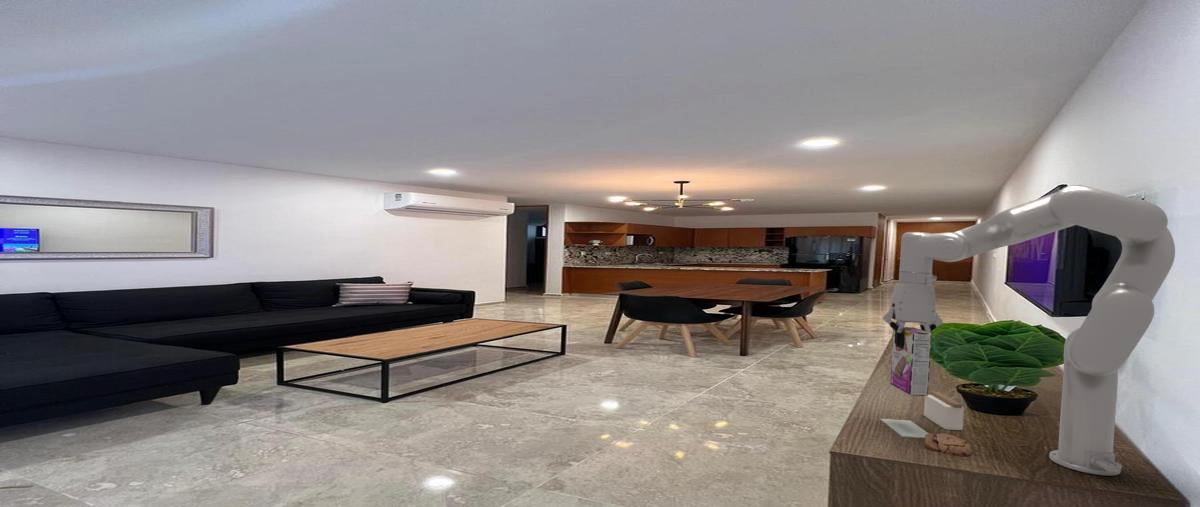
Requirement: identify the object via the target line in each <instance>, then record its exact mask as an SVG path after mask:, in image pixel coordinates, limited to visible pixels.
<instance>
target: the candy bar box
mask: <svg viewBox="0 0 1200 507" xmlns="http://www.w3.org/2000/svg"><path fill="white" fill-rule="evenodd" d="M892 330H893V329H892ZM902 333H904V346H903V348H899V347H896V344H895V342H894V341H895V331H894V330H893V331H892V347H891V363H890V364H891V366H890V367H891V369H890V385H891V386H893V387H895V388H897V389H899V390H900V391H902V392H904V393H906V394H907V395H909V396H915V397H916V396H918V397H925V396H928V395H929V386H930V384H929V383H930V371H931V370H930V369H931V367H930V365H931V350H932V332H931V333H929V332H926V331H923V330H921V328H920V329H919V328H918V327H914V326H911V325H904V328H903V330H902Z"/></svg>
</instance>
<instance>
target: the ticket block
mask: <svg viewBox="0 0 1200 507" xmlns="http://www.w3.org/2000/svg"><path fill="white" fill-rule="evenodd" d="M923 404H924V406H923V414H921V417H923V418H925V419H926V420H930V421H929V422H930V423H933V424H934V425H936V426H938V428H940V429H944V430H949V431H950V430H952V431H954V430H955V431H963V429H964V415H965V414H964V411H965V408H964V407H963V404H962V403H960V402H958V401H957V400H954V399H952V398H951V397H949V396H947V395H945V394H944V393H941V392H940V391H936V390H935V391H933V390H931V391H930V394H928V396H924V403H923Z"/></svg>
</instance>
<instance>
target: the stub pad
mask: <svg viewBox="0 0 1200 507" xmlns="http://www.w3.org/2000/svg"><path fill="white" fill-rule="evenodd" d="M879 420H880V421H881V422H883V424H885V425H887V427H889V428H890V429H891V430H893V431H894V432H895V433H897V434H898V435H899V436H900V437H902V438H912V439H913V438H915V439H925V435H926V434H928V433H929V432H927V431H926V430H925V429H923V428H922V427H920V426H919V425H917V424H916V423H915V422H913V420H908V419H906V420H905V419H891V418H880V419H879Z"/></svg>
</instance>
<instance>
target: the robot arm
mask: <svg viewBox="0 0 1200 507" xmlns="http://www.w3.org/2000/svg"><path fill="white" fill-rule="evenodd" d="M1168 222H1169V221H1168V216H1167V214H1166V212H1165V211H1164V210H1163V209H1162V207H1160V206H1158V205H1157V204H1155V203H1152V202H1150V201H1146V200H1143V199H1138V198H1135V197H1129V196H1125V195H1121V194H1117V193H1113V192H1109V191H1105V190H1101V189H1098V188H1095V187H1091V186H1087V185H1083V184H1082V185H1081V184H1073V185H1068V186H1064V187H1063V188H1061V189H1059V190H1058V191H1056V192H1053V193H1051V194H1047V195H1045V196H1042V197H1040V198H1037V199H1033V200H1031V201H1028V202H1025V203H1022V204H1019V205H1016V206H1013V207H1010V208H1008V209H1004V210H1003V211H1000V212H999V213H997V214H995V215H994V216H992V217H990V218H988V219H986V220H984V221H982V222H979V223H977V224H973V225H971V226H967V227H965V228H963V229H960V230H956V231H950V232H949V231H948V232H938V233H936V232H935V233H930V232H921V231H907V232H905V233H903V234H902V236H901V240H900V242H901V243H900V257H899V259H900V260H899V270H898V271H899V273H898V282H896V283H894V286H893V290H892V294H891V298H890V299H891V300H890V304H889V306H890V307H889V310H888V311H887V312H886V313H885V314H884V315H883V316H882V320H883V321H884V322H885V323H886V324H887V325H888V326H889V327H890V328H891V329H892V330H894V331H895V341H894V342H895V344H896V347H899V348H903V346H904V333H902V330H903V328H904V326H906V323H913V324H914V323H916V324H917V323H918V324H919V328H920V330H923V331H926V332H929V333H932V332H933V331H934V330H935V329H936V328H937V327H939V326H940V325H942V324H943V322H944V321H943V319H942V318H941V317H940V316H939V314H938V313H937V302H936V292H935V287H934V285H932V283H933V282H937V280H938V276H937V275H934V274H933V261H934V260H936V261H940V262H944V263H945V262H946V263H953V262H960V261H962V260H965V259H969V258H972V257H975V256H978V255H980V254H983V253H987V252H990V251H993V250H997V249H1000V248H1003V247H1008V246H1014V245H1017V244H1020V243H1025V242H1027V241H1029V240H1033V239H1036V238H1040V237H1042V236H1045V235H1048V234H1051V233H1054V232H1059V231H1061V230H1064V229H1067V228H1071V227H1074V226H1079V227H1083V228H1086V229H1088V230H1092V231H1096V232H1099V233H1102V234H1106V235H1108V236H1109V235H1110V236H1113V237H1116V238H1117V239H1118V240H1119V241H1120V243H1121V246H1122V247H1121V254H1120V256H1119V258H1118V260H1117V262H1116V264H1115V265H1114V268H1113V269H1112V271H1111V273H1110V274H1109V275H1108V277H1107V279H1106V281H1105V282H1104V283H1103V285H1102V287H1101V288H1100V289H1099V291H1098V292H1097V293H1095V295H1094V297H1093V298H1092V302H1091V309H1090V311H1089V312H1088V314H1087V316H1086V317H1085V319H1084V321H1083V322H1082V323H1081V325H1080V327H1078V328H1076V329H1075V330H1072V331H1071V332H1070V334H1068V336H1067V337H1066V339H1065V341H1064V346H1063V372H1062V374H1063V375H1062V389H1061V390H1062V392H1061V402H1060V417H1059V418H1060V419H1059V433H1058V434H1059V435H1058V445H1057V446H1058V447H1057V448H1058V449H1056V450H1051V451H1049V456H1048V457H1049V459H1050V460H1051V461H1052V462H1054V463H1055V464H1058V465H1059V466H1061V467H1065V468H1067V469H1070V470H1074V471H1077V472H1082V473H1085V474H1091V475H1096V476H1097V475H1099V476H1110V477H1111V476H1112V477H1113V476H1118V475H1120V474H1121V472H1122V468H1123V465H1122V464H1121V463H1119V462H1116V461H1115V460H1116V453H1114V440H1115V439H1114V437H1115V428H1116V426H1115V425H1116V411H1117V400H1118V381H1119V379H1118V378H1119V376H1118V375H1119V370H1120V369H1121V368H1122V367H1123V366H1124V364H1125V363H1126V361H1128V359H1129V357H1130V356H1131V355H1132V353H1133V351H1134V350H1135V348H1136V347H1137V345H1138V344H1139V343H1140V341H1141V339H1142V338H1143V337H1144V335H1145V333H1146V332H1147V330H1148V329H1149V327H1150V326H1151V324H1152V322H1153V319H1154V316H1155V315H1154V314H1155V305H1154V302H1153V300H1154V298H1155V297H1156V296H1157V294H1158V292H1159V290H1160V288H1161V287H1162V285H1163V283H1164V282H1165V280H1166V278H1167V277H1168V275H1169V273H1170V271H1171V269H1172V267H1173V263H1174V261H1175V257H1176V245H1175V241H1174V239H1173V235H1172V233H1171V231H1170V229H1169V228H1168ZM894 320H895V322H894Z"/></svg>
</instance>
